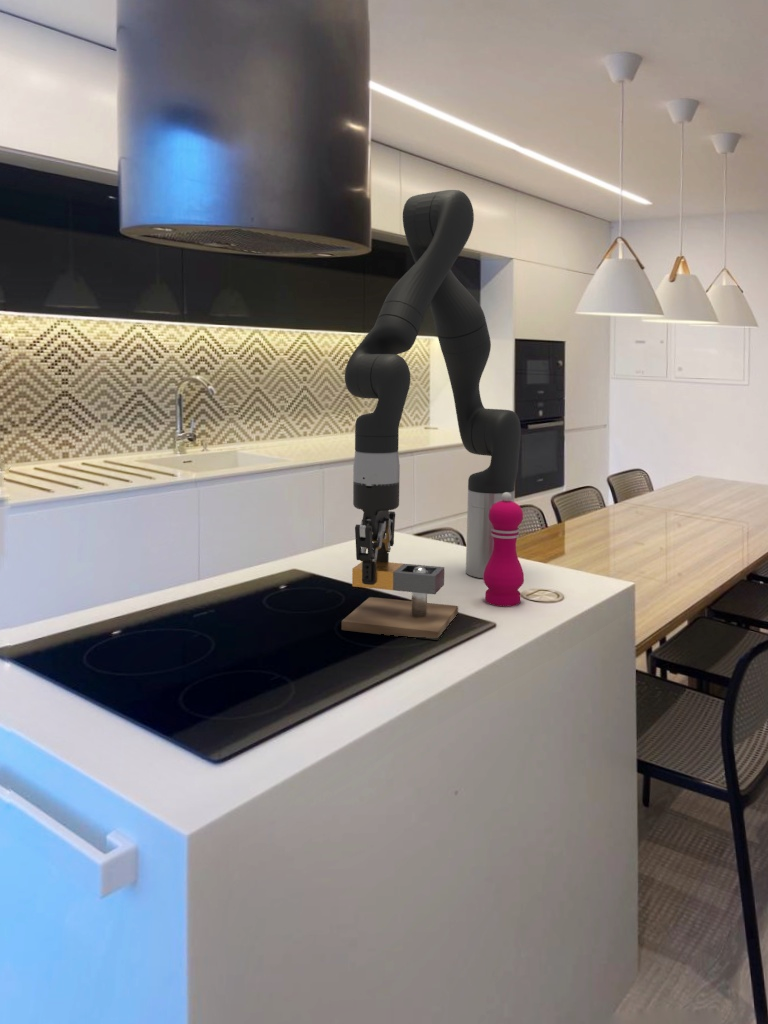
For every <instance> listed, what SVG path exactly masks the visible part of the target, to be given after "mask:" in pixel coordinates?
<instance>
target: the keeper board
mask: <svg viewBox="0 0 768 1024" xmlns="http://www.w3.org/2000/svg"><path fill="white" fill-rule="evenodd" d="M411 613H412V600H401V599H392V598H383V597H373V596H369V597H368V598H366V600H364V601H363V602H362V603H360V605H358V606H357V607H356V608H355V609H353V611H352V612H351V613H349V614H348V615H347V616H346V617H345V618H343V619H342V620H341V631H349V632H357V633H363V634H364V633H365V634H373V635H381V634H384V635H383V636H390V635H394V636H393V637H398V636H408V637H426V638H438V637H439V636H440V635H441V634H442V632H443V631H444V630H445V629H446V627H447V626H448V625H449V623H450V622H451V621H452V620H453V619H454V618H455V617H457V616H458V615H459V605H453V604H441V603H435V602H434V603H431V602H427V616H426V617H421V618H418V617H413V616H412V615H411ZM457 614H458V615H457ZM456 615H457V616H456ZM455 619H456V618H455ZM455 619H454V620H455ZM454 620H453V621H454Z"/></svg>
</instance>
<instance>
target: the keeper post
mask: <svg viewBox="0 0 768 1024" xmlns="http://www.w3.org/2000/svg"><path fill="white" fill-rule="evenodd" d="M413 572H414V573H425V574H427V571H426V569H425V568H424V567H421V566H419V567H416V568H414V570H413ZM411 601H412V613H411V615H412V616H413V617H418V618H421V617H426V616H427V603H428V594H426V593H415V592H411Z"/></svg>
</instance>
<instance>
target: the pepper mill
mask: <svg viewBox="0 0 768 1024" xmlns="http://www.w3.org/2000/svg"><path fill="white" fill-rule="evenodd" d="M501 498H502V500H503V501H499V502H497V503H495V504H494V505H492V507H491V508H490V511H489V520H490V522H491V523H492V525H493V527H492V528H491V530H492V533H491V535H492V536H493V540H494V546H493V552H492V555H491V558H490V560H489V562H488V564H487V566H486V568H485V571H484V577H483V578H482V579H483V583H484V585H485V586H486V587H487V588H488V589H486V591H485V594H484V595H485V597H484V598H485V602H486V603H487V604H488V605H492V606H496V607H514V606H517V605H519V604H520V603H521V592H520V591H519V589H520V588H521V587H522V586H523V584H524V581H525V578H524V570H523V567H522V565H521V562H520V560H519V557H518V553H517V539H518V538H519V537H520V528H518V527H519V526H520V524H521V523H522V522H523V520H524V514H523V513H524V511H523V509H522V508H521V506H520V505H519V504H518V503H516V502H515V501H514V502H512V501H510V500H511V498H512V497H511V494H510V493H508V492H505V493H503V494H502V497H501Z"/></svg>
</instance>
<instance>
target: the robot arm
mask: <svg viewBox="0 0 768 1024" xmlns="http://www.w3.org/2000/svg"><path fill="white" fill-rule="evenodd" d="M474 217H475V213H474V207H473V204H472V201H471V199H470V198H469V196H468V195H467V194H466V193H465V192H464V191H461V190H458V189H447V190H440V191H433V192H426V193H421V194H416V195H412V196H410V197H409V198H408V199H407V200H406V201H405V203H404V206H403V209H402V225H403V231H404V236H405V238H406V241H407V245H408V247H409V250H410V252H411V256H412V259H413V261H414V264H413V265H412V266H411V267H410V268H409V269H408V270H407V272H405V273H404V274H403V276H401V277H400V279H399V280H398V281H396V283H394V285H393V286H392V288H391V290H389V293H388V294H387V296H386V297H385V300H384V302H383V303H382V307H381V308H380V311H379V314H378V316H377V319H376V321H375V324H374V326H373V327H372V328H371V330H370V331H369V332H368V333H367V334H366V335H365V336H364V338H363V339H362V341H361V342H360V343H359V344H358V346H357V347H356V348H355V350H354V351H353V352H352V354H351V355H350V357H349V359H348V361H347V364H346V366H345V369H344V370H345V372H344V384H345V386H346V389H347V390H348V392H349V393H350V394H351V395H352V396H353V397H356V398H361V399H376V400H377V403H376V406H375V409H374V411H373V412H369V413H365V414H361V415H359V416H358V417H357V418H356V419H355V420H356V421H355V425H354V427H355V428H354V457H353V458H354V459H353V468H352V469H353V475H352V476H353V477H352V479H353V480H352V481H353V482H352V483H353V484H352V485H353V487H352V488H353V490H352V492H353V493H352V495H353V496H352V498H353V499H352V504H353V507H354V508H356V509H357V510H361V511H363V515H362V519H361V521H360V524H355V527H354V533H355V535H354V536H355V552H356V553H355V557H356V560H357V561H360V562H362V582H363V584H368V585H374V584H375V583H376V561H378V562H389V560H390V559H389V558H390V557H389V556H390V555H389V553H390V552H391V550H392V549H391V547H393V546H394V545H395V542H394V541H395V527H396V526H395V525H396V524H395V523H396V512H395V511H392V510H396V509H397V508H398V507H399V506H400V479H401V478H400V473H401V472H400V471H401V470H400V469H401V468H400V467H401V466H400V465H401V464H400V458H399V456H400V455H399V435H400V434H399V432H400V431H399V427H400V423H401V420H402V416H403V411H404V408H405V404H406V401H407V397H408V394H409V390H410V386H411V372H410V368H409V365H408V363H407V361H406V360H405V359H404V358H403V357H402V356H401V355H399V354H404V353H406V352H408V351H410V350H411V349H412V347H413V346H414V344H415V342H416V339H417V337H418V336H419V335H418V334H419V332H420V329H421V326H422V324H423V321H424V320H425V316H426V314H427V313H428V309H429V308H430V312H431V316H432V318H433V323H434V326H435V332H436V335H437V338H438V342H439V346H440V350H441V353H442V356H443V359H444V363H445V367H446V369H447V370H446V371H447V373H448V377H449V378H448V379H449V382H450V387H451V389H452V390H451V391H452V395H453V400H454V406H455V415H456V419H457V426H458V432H459V436H460V440H461V442H462V445H463V446H464V449H465V450H466V451H467V452H468V453H470V454H473V455H478V456H488V457H490V463H489V466H488V467H487V468H485V469H484V470H482V471H478V472H474V473H472V474H470V475H469V476H468V482H467V514H466V516H467V518H466V520H467V521H466V551H465V552H466V554H465V573H466V575H469V577H470V576H471V577H474V578H478V579H483V577H484V571H485V568H486V566H487V564H488V562H489V560H490V558H491V555H492V552H493V546H494V540H493V536H492V535H491V533H492V530H491V528H492V527H493V525H492V523H491V522H490V520H489V511H490V508H491V507H492V505H494V504H495V503H497V502H499V501H503V500H502V498H501V497H502V494H503V493H505V492H508V493H510V494H511V497H512V498H511V500H510V501H512V502H515V489H516V488H515V486H516V480H517V476H518V471H519V458H520V448H521V440H522V438H521V437H522V426H521V420H520V418H519V415H518V414H517V413H516V412H515V411H513V410H510V409H502V408H501V409H498V408H485V407H484V404H483V402H482V398H481V392H480V382H481V379H482V375H483V373H484V371H485V368H486V366H487V363H488V360H489V358H490V354H491V353H490V352H491V346H492V345H491V343H492V341H491V338H490V337H491V336H490V333H489V327H488V325H487V320H486V316H485V313H484V311H483V309H482V307H481V305H480V304H479V302H478V301H477V299H476V298H475V296H473V295H472V294H471V293H470V291H469V290H468V289H467V288H466V287H465V286H464V285H463V284H462V283H461V281H460V280H458V278H457V276H456V275H455V274H454V272H453V271H452V267H453V265H454V264H455V262H456V260H457V259H458V258H459V256H460V254H461V252H462V251H463V249H464V248H465V246H466V245H467V242H468V240H469V239H470V236H471V234H472V231H473V227H474V221H475V220H474V219H475V218H474Z"/></svg>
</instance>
